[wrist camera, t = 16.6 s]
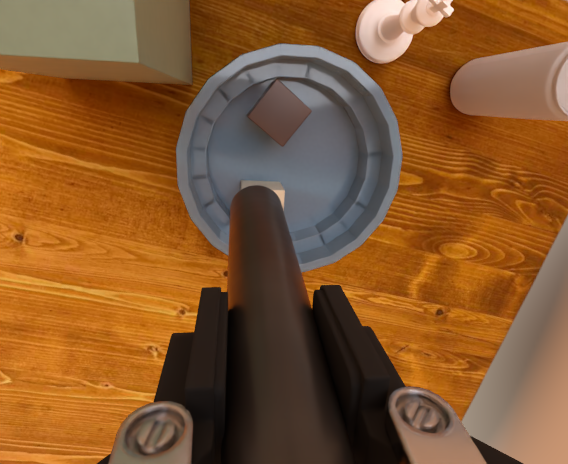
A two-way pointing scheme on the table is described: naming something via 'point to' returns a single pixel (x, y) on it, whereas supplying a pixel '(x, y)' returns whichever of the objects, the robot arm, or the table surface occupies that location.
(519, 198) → the table surface
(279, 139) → the walnut block
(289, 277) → the stirring stick
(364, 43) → the chess piece
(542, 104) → the beverage can
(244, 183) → the cream block
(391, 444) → the robot arm
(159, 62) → the stand
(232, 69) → the bowl
